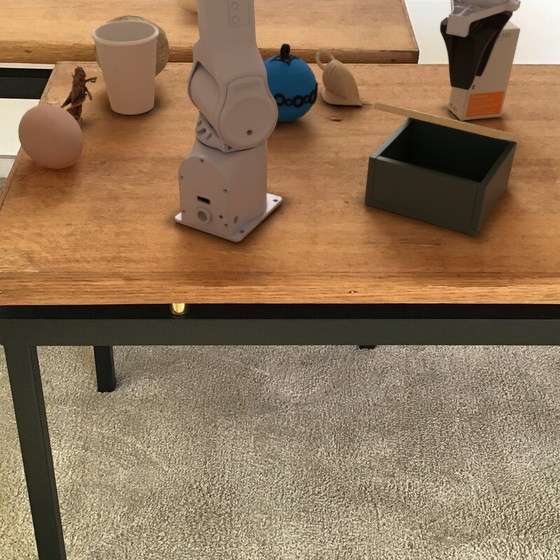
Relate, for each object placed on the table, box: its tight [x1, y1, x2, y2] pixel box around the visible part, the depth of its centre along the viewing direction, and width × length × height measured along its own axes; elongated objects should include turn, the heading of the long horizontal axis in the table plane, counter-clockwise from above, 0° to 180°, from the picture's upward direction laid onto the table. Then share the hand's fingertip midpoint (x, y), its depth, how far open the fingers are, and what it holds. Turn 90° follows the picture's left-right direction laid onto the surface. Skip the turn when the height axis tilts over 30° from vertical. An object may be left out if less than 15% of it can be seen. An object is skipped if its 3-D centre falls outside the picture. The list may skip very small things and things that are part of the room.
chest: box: [364, 117, 518, 238], centre depth 84 cm, size 12×13×6 cm
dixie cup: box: [90, 20, 159, 116], centre depth 100 cm, size 8×8×10 cm
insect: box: [59, 64, 98, 126], centre depth 97 cm, size 4×8×5 cm
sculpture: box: [93, 14, 170, 78], centre depth 105 cm, size 10×4×10 cm, turn 95°
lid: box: [373, 101, 520, 142], centre depth 81 cm, size 12×13×1 cm
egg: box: [17, 103, 84, 170], centre depth 88 cm, size 7×7×10 cm
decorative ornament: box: [314, 49, 363, 107], centre depth 105 cm, size 4×8×5 cm, turn 23°
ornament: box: [263, 43, 319, 123], centre depth 98 cm, size 9×9×10 cm
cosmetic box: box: [447, 20, 521, 122], centre depth 100 cm, size 6×4×12 cm
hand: (466, 80), depth 86 cm, fingers open, 4 cm apart
